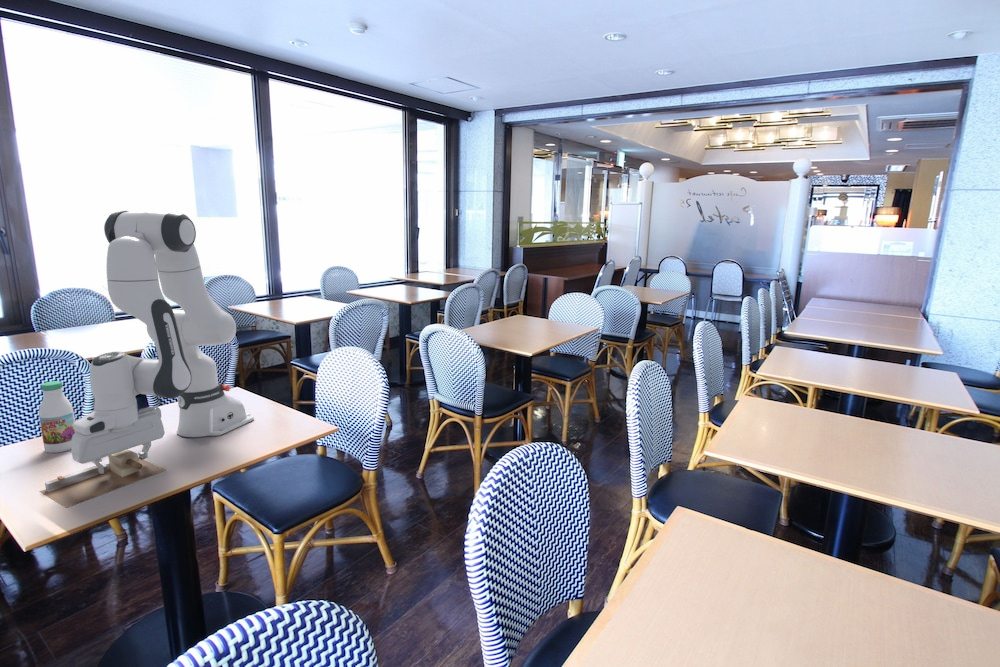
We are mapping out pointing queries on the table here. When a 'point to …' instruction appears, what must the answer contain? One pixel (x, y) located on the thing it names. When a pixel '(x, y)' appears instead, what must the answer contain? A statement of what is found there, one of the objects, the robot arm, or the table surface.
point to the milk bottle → (56, 418)
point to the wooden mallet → (124, 463)
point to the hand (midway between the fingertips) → (124, 465)
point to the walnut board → (93, 483)
